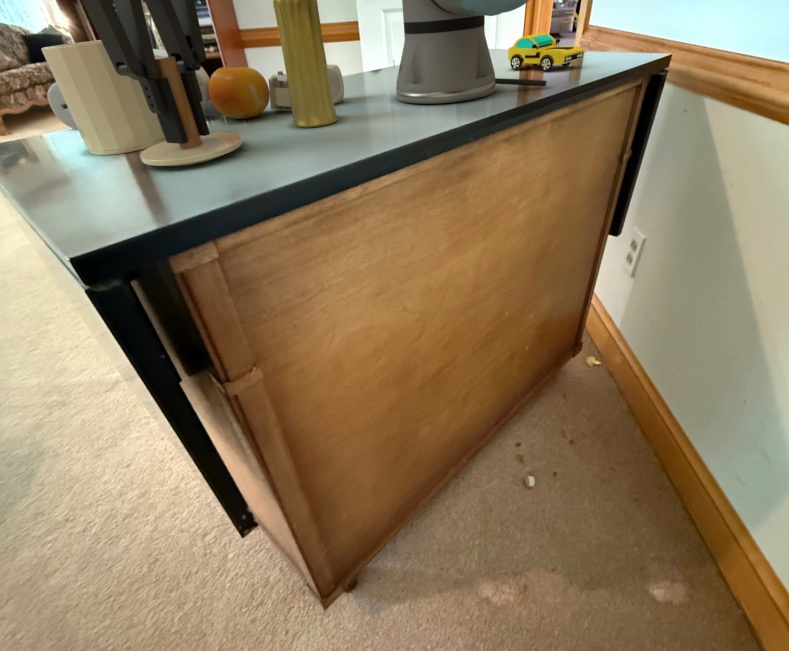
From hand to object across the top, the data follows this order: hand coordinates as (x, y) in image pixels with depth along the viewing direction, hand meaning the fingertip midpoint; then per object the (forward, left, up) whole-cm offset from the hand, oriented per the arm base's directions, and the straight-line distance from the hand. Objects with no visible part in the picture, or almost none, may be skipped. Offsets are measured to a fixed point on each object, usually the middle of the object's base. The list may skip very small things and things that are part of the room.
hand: (188, 138), depth 54 cm
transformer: (-6, -30, +1) cm, 31 cm away
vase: (-14, -11, -2) cm, 18 cm away
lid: (0, 0, -1) cm, 1 cm away
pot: (+12, -10, -2) cm, 16 cm away
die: (-14, -25, -2) cm, 29 cm away
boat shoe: (+17, -22, +3) cm, 28 cm away
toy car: (-53, -37, -2) cm, 65 cm away
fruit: (-2, -20, -2) cm, 20 cm away
